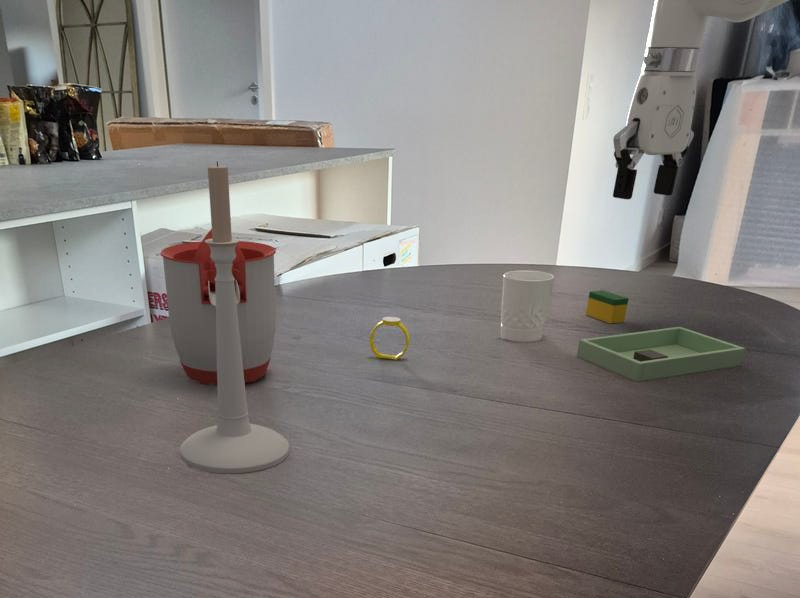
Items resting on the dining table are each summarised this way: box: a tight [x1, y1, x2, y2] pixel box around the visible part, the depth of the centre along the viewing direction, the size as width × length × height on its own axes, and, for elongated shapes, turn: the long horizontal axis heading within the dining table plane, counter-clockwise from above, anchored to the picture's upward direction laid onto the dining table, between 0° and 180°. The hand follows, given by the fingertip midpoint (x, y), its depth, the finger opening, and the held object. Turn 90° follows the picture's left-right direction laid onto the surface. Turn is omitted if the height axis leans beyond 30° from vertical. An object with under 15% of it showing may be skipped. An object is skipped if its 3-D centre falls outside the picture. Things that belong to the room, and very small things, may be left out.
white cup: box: [499, 269, 555, 343], centre depth 137 cm, size 8×8×10 cm
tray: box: [576, 326, 746, 383], centre depth 128 cm, size 20×14×3 cm
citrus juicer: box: [160, 228, 277, 386], centre depth 118 cm, size 16×17×20 cm
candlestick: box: [179, 160, 290, 474], centre depth 91 cm, size 13×13×30 cm
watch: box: [369, 316, 410, 361], centre depth 130 cm, size 6×3×6 cm, turn 77°
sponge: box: [585, 289, 629, 325], centre depth 151 cm, size 3×7×4 cm, turn 23°
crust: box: [633, 350, 668, 362], centre depth 127 cm, size 3×4×1 cm
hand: (642, 196), depth 132 cm, fingers open, 9 cm apart
